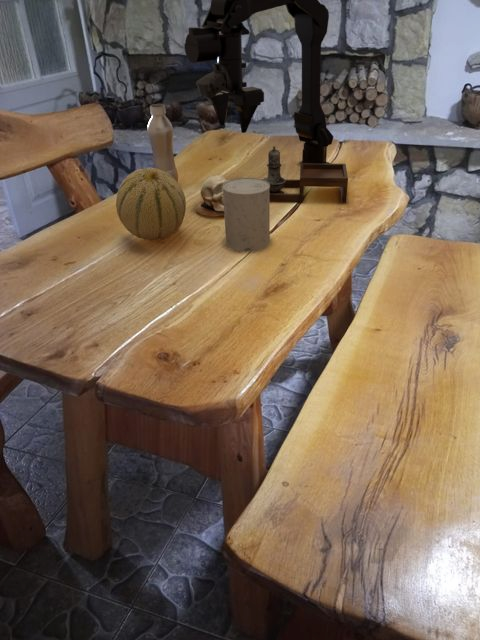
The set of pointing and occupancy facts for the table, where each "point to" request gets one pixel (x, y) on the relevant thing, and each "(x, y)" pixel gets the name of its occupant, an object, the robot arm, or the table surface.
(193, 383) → the table surface
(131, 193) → the cantaloupe
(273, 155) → the grey rounded piece
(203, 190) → the skull
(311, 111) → the robot arm
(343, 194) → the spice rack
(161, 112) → the plastic bottle
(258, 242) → the grey stone cylinder
